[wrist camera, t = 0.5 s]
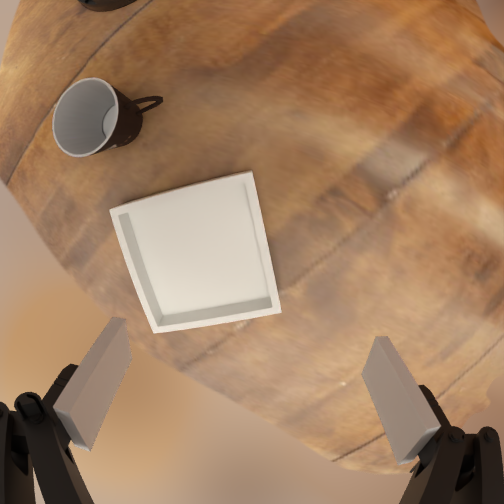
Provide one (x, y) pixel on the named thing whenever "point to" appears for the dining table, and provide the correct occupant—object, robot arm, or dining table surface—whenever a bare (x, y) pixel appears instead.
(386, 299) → the dining table surface
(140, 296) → the white tray
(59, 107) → the coffee mug
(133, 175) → the dining table surface
